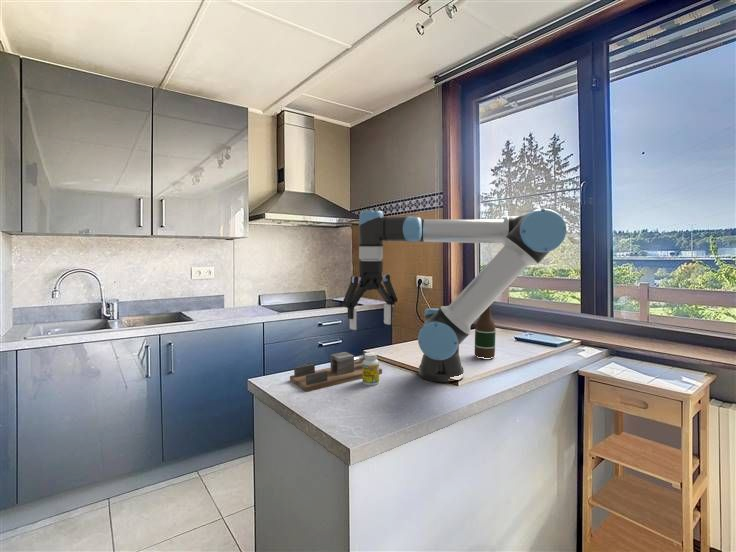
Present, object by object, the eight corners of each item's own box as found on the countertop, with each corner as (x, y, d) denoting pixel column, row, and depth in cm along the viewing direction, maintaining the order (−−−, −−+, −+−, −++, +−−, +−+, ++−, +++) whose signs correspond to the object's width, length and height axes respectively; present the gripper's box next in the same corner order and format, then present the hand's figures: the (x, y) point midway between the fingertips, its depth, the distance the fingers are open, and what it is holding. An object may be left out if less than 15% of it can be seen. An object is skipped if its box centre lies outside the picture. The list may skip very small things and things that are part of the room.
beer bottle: (495, 360, 150) (497, 299, 148) (475, 359, 152) (476, 298, 150) (493, 354, 158) (495, 296, 156) (473, 353, 159) (475, 295, 157)
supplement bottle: (380, 380, 128) (381, 352, 127) (376, 386, 122) (376, 356, 122) (365, 379, 129) (365, 350, 128) (360, 384, 124) (360, 355, 123)
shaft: (372, 364, 137) (372, 352, 137) (340, 371, 130) (340, 359, 129) (366, 361, 140) (366, 350, 140) (334, 368, 133) (334, 356, 132)
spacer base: (382, 373, 135) (382, 353, 134) (306, 391, 118) (306, 368, 117) (362, 364, 145) (362, 345, 144) (289, 380, 128) (289, 359, 127)
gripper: (393, 258, 133) (393, 320, 135) (330, 260, 118) (331, 329, 120) (408, 259, 127) (407, 323, 128) (343, 261, 112) (343, 333, 114)
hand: (370, 326), depth 124 cm, fingers open, 13 cm apart
